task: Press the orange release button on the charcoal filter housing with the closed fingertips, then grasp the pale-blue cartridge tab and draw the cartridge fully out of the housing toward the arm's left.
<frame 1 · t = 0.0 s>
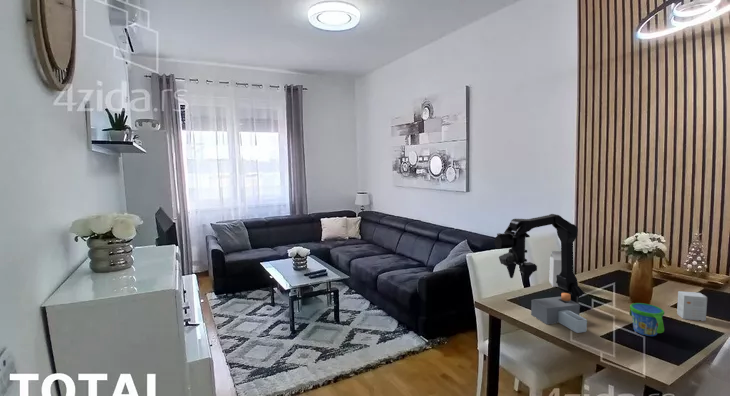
hand: (517, 281, 164), 15 cm above the table, fingers open, 9 cm apart
milk carton: (558, 285, 200), on the table
housing: (554, 317, 160), on the table
plunger: (565, 297, 160), point 8 cm above the table, slide at 0.0 cm
small box: (690, 318, 156), on the table
snack cup: (645, 333, 144), on the table
cartridge: (564, 316, 154), point 3 cm above the table, slide at 0.0 cm
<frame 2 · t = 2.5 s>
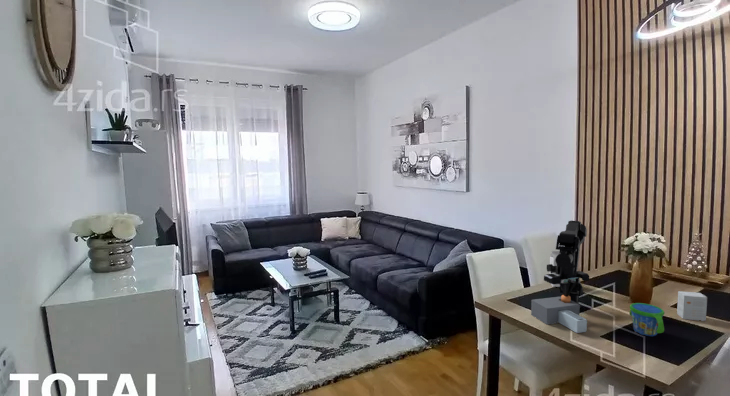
hand: (565, 296, 160), 9 cm above the table, fingers closed, pressing on plunger
plunger: (565, 299, 160), point 7 cm above the table, slide at 1.0 cm, touching gripper
everything else where it was.
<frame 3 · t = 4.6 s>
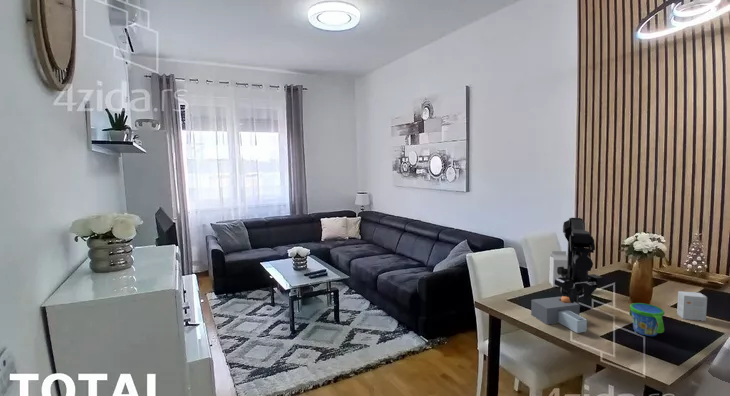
hand: (578, 302, 146), 12 cm above the table, fingers open, 6 cm apart
plunger: (565, 301, 160), point 7 cm above the table, slide at 1.6 cm
everything else where it was.
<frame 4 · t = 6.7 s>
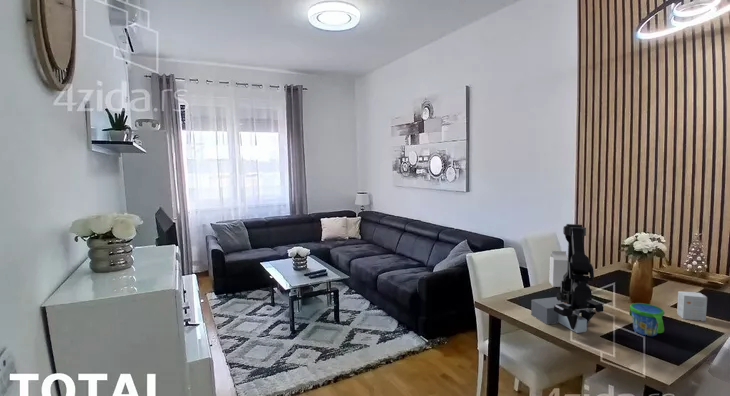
hand: (577, 328, 147), 1 cm above the table, fingers closed on cartridge, 4 cm apart
cartridge: (564, 316, 154), point 3 cm above the table, slide at 0.0 cm, touching gripper
everything else where it was.
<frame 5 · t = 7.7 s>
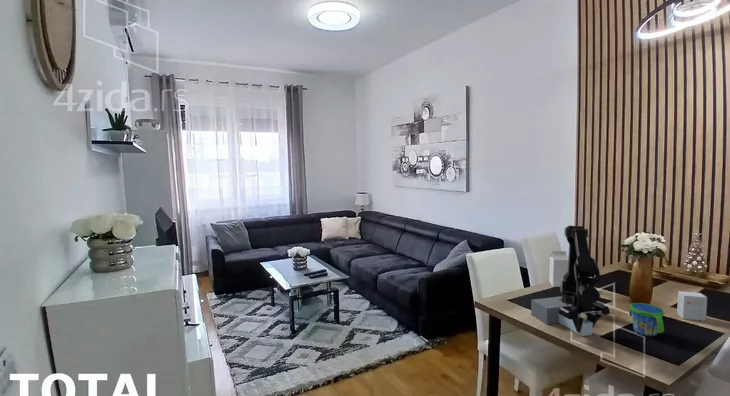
hand: (583, 331, 144), 1 cm above the table, fingers closed on cartridge, 4 cm apart
cartridge: (569, 319, 151), point 3 cm above the table, slide at 2.8 cm, touching gripper
everything else where it was.
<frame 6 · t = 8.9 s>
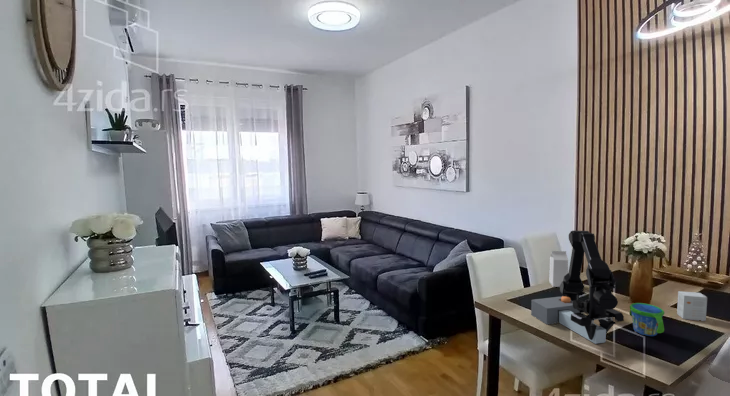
hand: (596, 338, 138), 1 cm above the table, fingers closed on cartridge, 4 cm apart
cartridge: (580, 325, 145), point 3 cm above the table, slide at 8.9 cm, touching gripper
everything else where it was.
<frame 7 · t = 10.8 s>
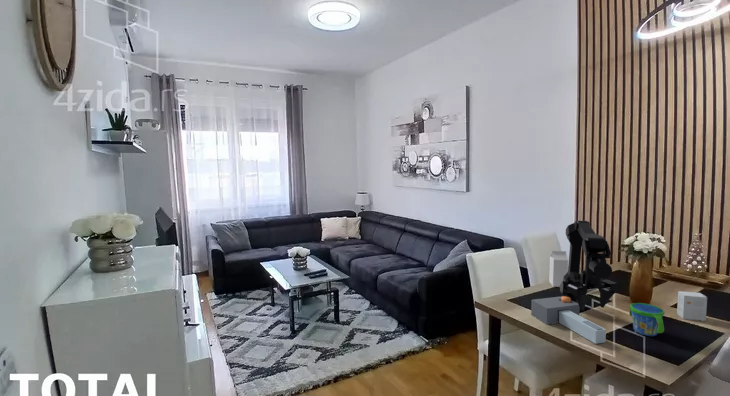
hand: (591, 308, 141), 11 cm above the table, fingers open, 9 cm apart
cartridge: (580, 325, 145), point 3 cm above the table, slide at 8.9 cm
everything else where it was.
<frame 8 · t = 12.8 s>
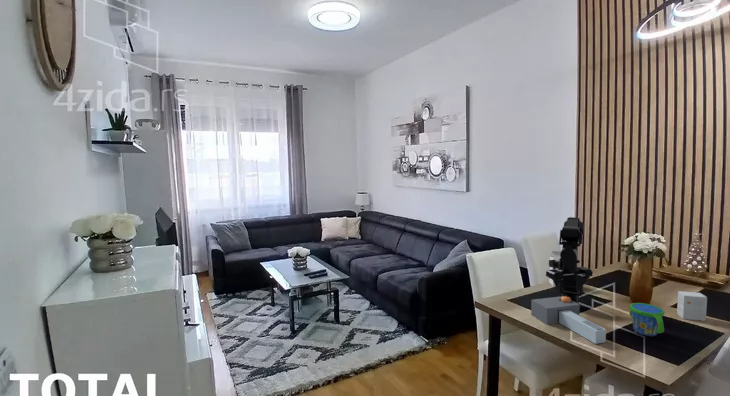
hand: (568, 292, 156), 12 cm above the table, fingers open, 9 cm apart
nothing on the table moved.
at the end: cartridge slide at 8.9 cm; plunger slide at 1.6 cm; the gripper is holding nothing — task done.
